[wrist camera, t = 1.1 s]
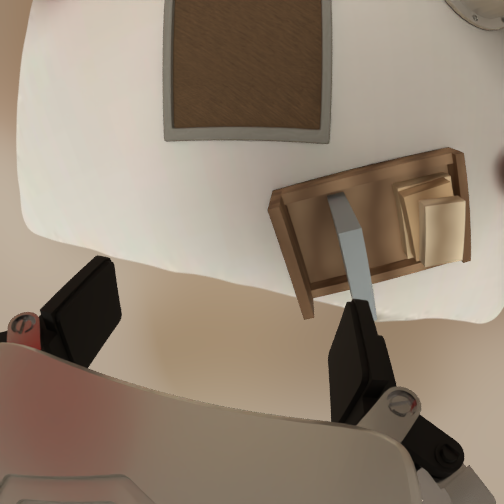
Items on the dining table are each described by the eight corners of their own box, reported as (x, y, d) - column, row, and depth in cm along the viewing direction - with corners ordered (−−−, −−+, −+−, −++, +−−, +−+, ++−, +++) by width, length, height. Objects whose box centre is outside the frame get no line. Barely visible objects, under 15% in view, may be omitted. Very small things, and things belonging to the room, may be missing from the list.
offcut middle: (442, 177, 29) (451, 181, 27) (452, 238, 32) (459, 246, 30) (397, 191, 31) (403, 197, 29) (410, 252, 34) (416, 261, 32)
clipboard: (163, 141, 34) (170, -66, 21) (168, 140, 36) (174, -62, 22) (329, 144, 32) (326, -76, 18) (328, 143, 33) (325, -70, 20)
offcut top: (457, 195, 28) (465, 201, 26) (455, 252, 31) (462, 260, 29) (418, 200, 29) (425, 206, 27) (419, 258, 32) (424, 267, 30)
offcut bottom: (442, 171, 31) (450, 175, 29) (449, 238, 34) (456, 245, 32) (392, 183, 33) (397, 188, 31) (402, 250, 36) (407, 258, 34)
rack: (448, 147, 30) (476, 158, 24) (458, 247, 36) (480, 272, 30) (272, 190, 36) (267, 209, 30) (303, 287, 42) (304, 319, 36)
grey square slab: (343, 191, 34) (361, 228, 24) (359, 265, 38) (377, 319, 28) (326, 195, 35) (338, 233, 25) (344, 269, 38) (357, 324, 29)
